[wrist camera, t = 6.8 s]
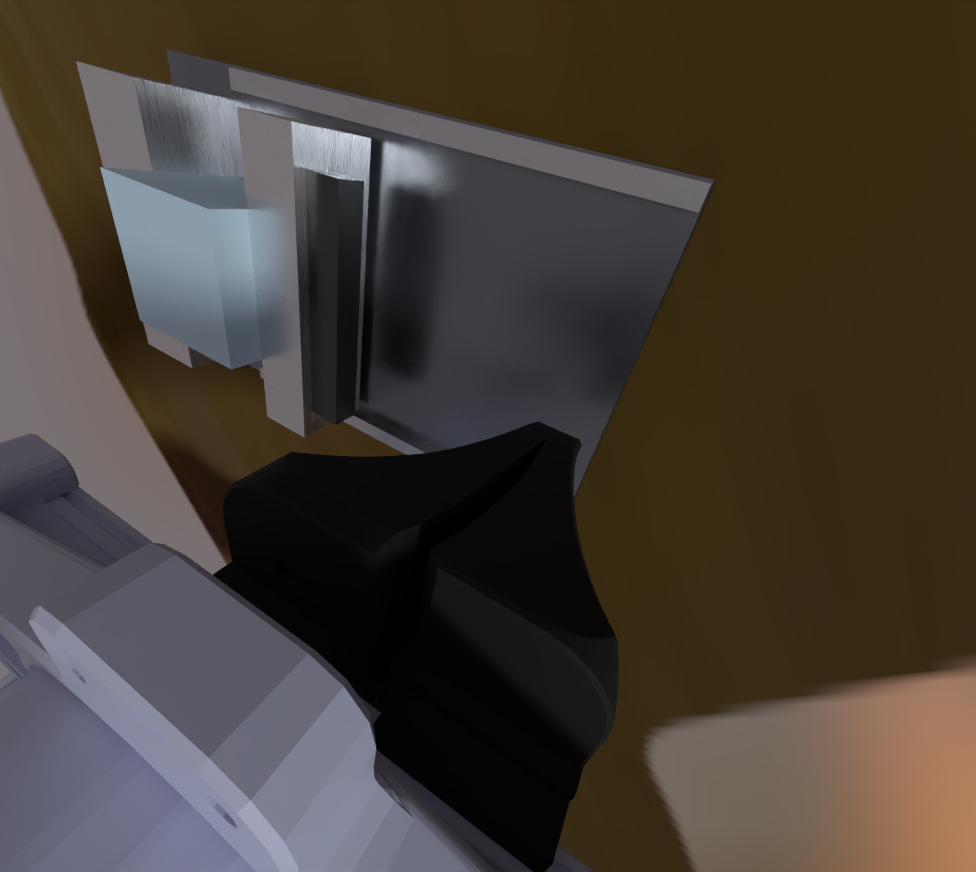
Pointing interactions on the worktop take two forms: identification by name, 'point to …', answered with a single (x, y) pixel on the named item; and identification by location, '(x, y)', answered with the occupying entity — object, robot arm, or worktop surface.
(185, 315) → the steel block
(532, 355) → the vise
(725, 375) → the worktop surface
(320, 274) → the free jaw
